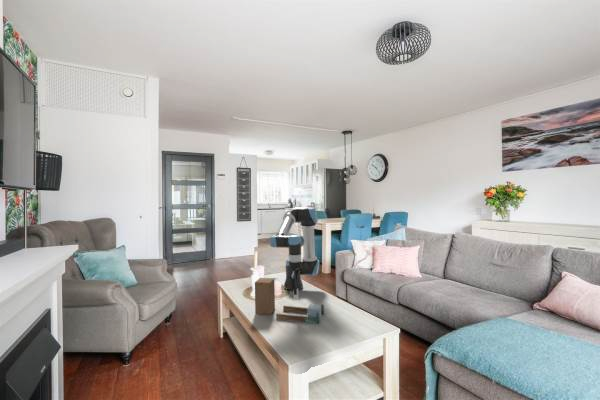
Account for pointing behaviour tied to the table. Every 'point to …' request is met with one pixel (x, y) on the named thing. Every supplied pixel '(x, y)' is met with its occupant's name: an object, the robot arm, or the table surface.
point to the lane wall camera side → (298, 318)
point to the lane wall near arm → (300, 309)
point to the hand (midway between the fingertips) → (296, 299)
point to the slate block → (314, 310)
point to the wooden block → (264, 296)
